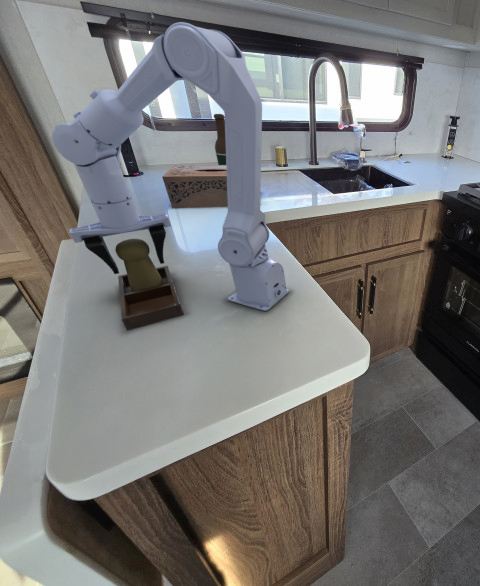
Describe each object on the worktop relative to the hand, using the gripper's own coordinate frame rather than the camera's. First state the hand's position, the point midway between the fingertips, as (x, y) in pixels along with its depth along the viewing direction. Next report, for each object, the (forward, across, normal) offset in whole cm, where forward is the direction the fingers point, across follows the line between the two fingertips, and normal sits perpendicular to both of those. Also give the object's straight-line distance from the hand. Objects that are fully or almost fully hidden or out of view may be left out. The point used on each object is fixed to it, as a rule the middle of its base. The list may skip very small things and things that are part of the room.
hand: (139, 266), depth 65 cm
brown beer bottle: (+5, -38, -71) cm, 81 cm away
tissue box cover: (+6, -28, -50) cm, 58 cm away
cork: (+6, 0, 0) cm, 6 cm away
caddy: (+6, 0, +4) cm, 7 cm away
